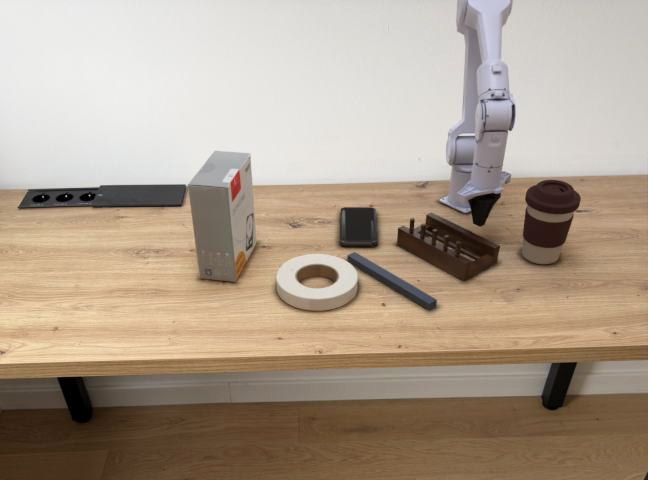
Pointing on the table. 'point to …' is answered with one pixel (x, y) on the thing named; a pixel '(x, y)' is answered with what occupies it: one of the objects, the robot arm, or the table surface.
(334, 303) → the tape roll
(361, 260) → the rail
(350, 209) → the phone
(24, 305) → the table surface
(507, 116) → the robot arm
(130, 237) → the table surface
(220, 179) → the hard drive box
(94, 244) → the table surface
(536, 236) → the coffee cup
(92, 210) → the table surface
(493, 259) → the rack
